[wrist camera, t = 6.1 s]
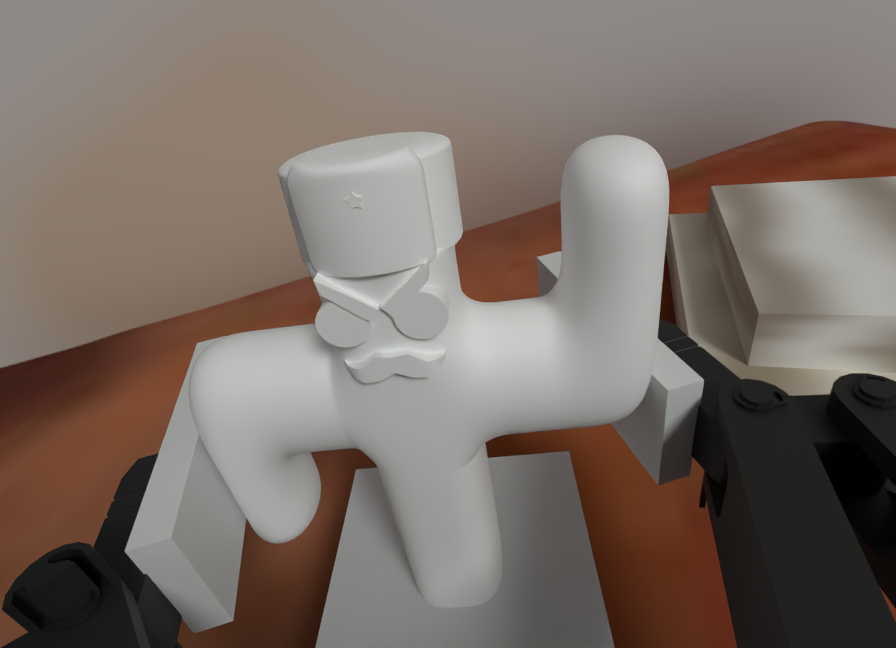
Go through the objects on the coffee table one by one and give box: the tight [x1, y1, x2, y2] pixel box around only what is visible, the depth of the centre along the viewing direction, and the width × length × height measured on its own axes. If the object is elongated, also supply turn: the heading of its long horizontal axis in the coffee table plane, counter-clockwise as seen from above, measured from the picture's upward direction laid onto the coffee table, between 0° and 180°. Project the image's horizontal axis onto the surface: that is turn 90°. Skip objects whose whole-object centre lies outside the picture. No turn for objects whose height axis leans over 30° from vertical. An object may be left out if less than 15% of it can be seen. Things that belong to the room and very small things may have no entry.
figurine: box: [188, 132, 669, 648], centre depth 12 cm, size 7×9×15 cm
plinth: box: [666, 176, 896, 396], centre depth 23 cm, size 18×18×5 cm
